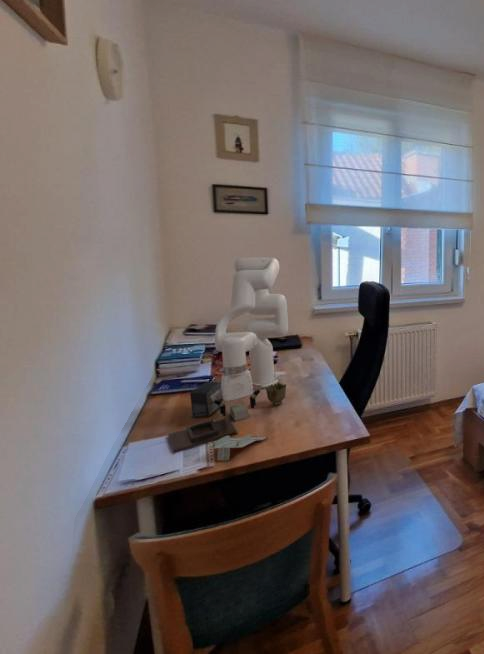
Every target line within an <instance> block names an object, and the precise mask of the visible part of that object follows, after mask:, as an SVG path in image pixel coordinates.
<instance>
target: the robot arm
mask: <svg viewBox="0 0 484 654" xmlns="http://www.w3.org/2000/svg"><path fill="white" fill-rule="evenodd" d="M233 266H234V270H235V273H234V275H233V278H232V286H231V299H230V307H229V308H228V309H227V310H226V311H225V312H224V313H223V314H222V315H221V316H220V318H219V319H218V321H217V323H216V325H215V333H214V347H215V350H216V351H218V352H220V353H222V354H221V355H222V368H219V369H218V373H220V374H221V373H222V374H221V379H220V382H221V390H219V391H218V392H216V393H215V394H213V395H212V396H210V398H211V400H212V401H213V402H214V403H215V404H217V405H219V406H220V408H219V413H220V415H222V416H223V417H226V416H227V411H226V409H227V408H226V405H225V404H226V403H227V402H230V401H236V400H238V399H243V398H247V397H249V405H250V408H251V409H255V406H256V405H257V403H256V398H257V396H258V395H259V394H260V393H261V391H262V389H266V388H267V386H268V387H269V385H270V386H271V384H272V385H273V386H274V384H276V385H277V384H278V383H279V381H280V380H279V378H280V377H285V376H286V375H287V373H286V371H277V372H276V371H275V363H274V349H273V344H272V343H271V341H270V340H269V339H274V338H275V339H276V338H284V337H286V336H287V334H288V333H289V315H288V303H287V299H286V296H285V295H284V294H282V293H269V290H270V289H272V288H273V286H274V284H275V282H276V280H277V278H278V275H279V272H280V262H279V261H278V259H277V258H275V257H241V258H238V259H236V260H235V261H234V265H233ZM247 313H249V314H250V315H253V316H266V317H255V318H253V317H252V318H250V319H248V320H247V321H245V324H244V331H241V332H239V331H237V332H236V331H235V332H227V329H228V326H229V325H230V323H231V322H232V321H234V320H235V319H236V318H237V317H240V316H243V315H244V314H247ZM270 315H274V316H273V317H271V316H270ZM267 316H268V317H267ZM269 316H270V317H269ZM247 352H249V353H248V355H249V356H248V357H249V368H250V370H249V369H248V367H247ZM254 389H255V390H254ZM220 394H221V397H222V399H221V400H220V401H219V400H217V399H216V397H218V396H219V395H220Z"/></svg>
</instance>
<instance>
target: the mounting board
mask: <svg viewBox="0 0 484 654" xmlns="http://www.w3.org/2000/svg"><path fill="white" fill-rule="evenodd" d="M237 434H238V432H237V430H236V428H235V427H234V425H233V423H232V422H231V421H230V419H229V418H228V417H226V418H221V419H219V420H218V419H217V420H216V421H214V420H213V419H212V420H208V421H204V422H201V423H197V424H194V425H190V426H187V427H186V428H185V429H183V430H179V431H174V432H172V433H168V439H169V443H170V445H171V448H172V453H174V454H175V453H178V452H181V451H185V450H188V449H192V448H196V447H198V446H200V445H201V446H202V445H205V444H208V443H211V442H212V443H213V442H214V441H217V440H219V439H221V438H223V437H225V436H230V437H231V436H235V435H237Z"/></svg>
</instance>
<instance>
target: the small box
mask: <svg viewBox="0 0 484 654" xmlns="http://www.w3.org/2000/svg"><path fill="white" fill-rule="evenodd" d="M219 390H221V381H205V382H204V383H203V384H201V385H199V386H198V387H196V388H195V389H194V390H192V391H190V392H189V396H190V404H191V412H192V413H191V414H192V417H193V418H209V417H211V416H212V415H213V414H215V412H217V411H218V410H220V406H219V405H217V404H215V403H214V402H213V401H212V400H211V398H210V396H212V395H213V394H215V393H216V392H218V391H219ZM216 399H217V400H219V401H220V400H221V399H222V397H221V394H220V395H219V396H218V397H216Z"/></svg>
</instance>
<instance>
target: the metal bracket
mask: <svg viewBox="0 0 484 654" xmlns="http://www.w3.org/2000/svg"><path fill="white" fill-rule="evenodd" d="M266 439H267V436H264V437H263V436H258V437H253V435H252V434H248V435H246V436H244V437H231V436H225V437H223V438H221V439H218V440H215V441H212V445H210V446H207V447H206V448H205V450H207V449H211V450H212V449H217V458H216V459H217V461H219V462H220V461H229V460H230V459H231V458H230V457H231V449H239V448H244V447H246V446H248V445H250V444H252V443H254V442H256V441H263V440H266Z"/></svg>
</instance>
